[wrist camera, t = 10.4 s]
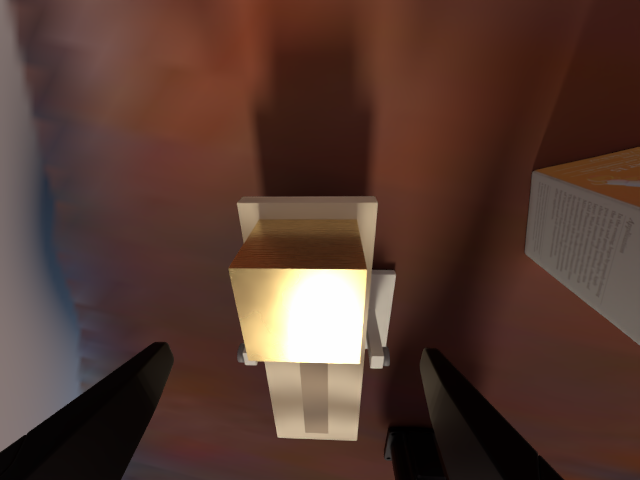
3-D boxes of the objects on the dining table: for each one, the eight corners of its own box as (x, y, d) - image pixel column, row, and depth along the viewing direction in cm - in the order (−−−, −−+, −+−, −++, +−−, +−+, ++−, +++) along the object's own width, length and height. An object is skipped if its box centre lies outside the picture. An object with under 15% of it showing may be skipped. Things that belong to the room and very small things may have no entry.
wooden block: (352, 297, 16) (359, 363, 12) (269, 295, 16) (248, 360, 12) (356, 219, 13) (367, 269, 9) (259, 219, 13) (228, 268, 10)
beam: (355, 428, 24) (356, 440, 23) (279, 425, 24) (277, 437, 23) (374, 196, 14) (377, 202, 13) (243, 196, 14) (236, 203, 13)
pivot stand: (384, 343, 24) (396, 400, 19) (253, 340, 24) (234, 395, 20) (394, 270, 20) (412, 319, 15) (238, 268, 20) (212, 315, 16)
